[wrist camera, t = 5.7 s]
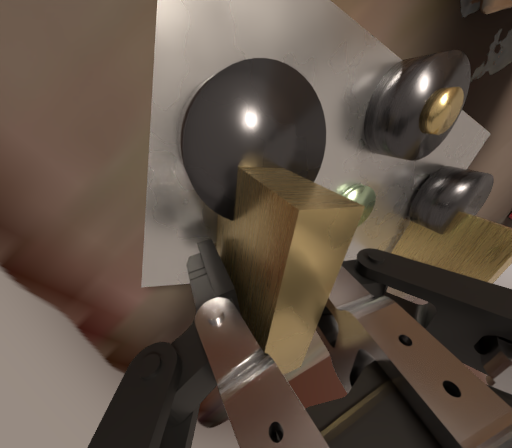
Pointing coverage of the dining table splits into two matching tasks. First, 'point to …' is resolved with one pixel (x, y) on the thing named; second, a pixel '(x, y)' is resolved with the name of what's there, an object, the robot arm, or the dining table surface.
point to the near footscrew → (268, 198)
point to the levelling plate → (334, 107)
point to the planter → (490, 3)
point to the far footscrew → (456, 226)
